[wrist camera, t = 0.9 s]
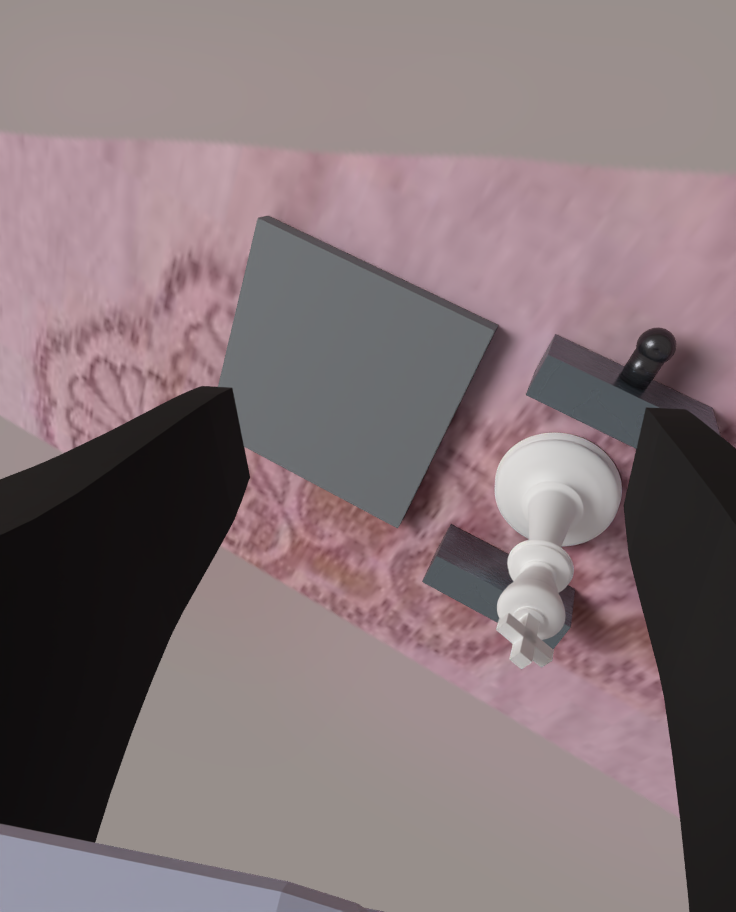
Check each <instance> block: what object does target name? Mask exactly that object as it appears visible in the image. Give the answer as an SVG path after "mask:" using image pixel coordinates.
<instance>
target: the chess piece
mask: <svg viewBox="0 0 736 912" xmlns="http://www.w3.org/2000/svg"><path fill="white" fill-rule="evenodd" d="M621 496H622V484H621V479H620V475H619V472H618V470H617V468H616V466H615V464H614V463H613V461H612V460H611V459H610V457H609V456H608V455H607V454H606V453H605V452H604V451H603V450H602V449H600V448H599V447H598V446H596V445H595V444H593V443H592V442H590V441H588V440H586V439H584V438H581V437H578V436H575V435H571V434H566V433H543V434H538V435H534V436H531V437H528V438H526V439H524V440H522V441H520V442H519V443H517V444H516V445H514V446H513V447H512V448H511V449H510V450H509V451H508V452H507V453H506V454H505V455H504V457H503V458H502V460H501V462H500V464H499V466H498V468H497V472H496V477H495V498H496V503H497V506H498V508H499V510H500V512H501V514H502V516H503V517H504V519H505V520H506V521H507V523H508V524H509V525H510V526H511V527H512V528H513V529H514V530H516V531H517V532H518V533H520V534H521V535H523V536H524V537H526V538H528V539H529V540H527V541H524V542H521V543H519V544H518V545H516V546H515V547H514V548H513V549H512V550H511V552H510V554H509V556H508V561H507V565H508V570H509V574H510V576H511V578H512V580H513V581H514V582H513V583H511V584H510V585H509V586H508V587H507V588H506V589H505V590H504V591H503V592H502V594H501V595H500V597H499V599H498V603H497V613H498V616H499V621H498V625H497V628H496V630H497V631H498V632H499V633H500V634H502V635H503V636H504V637H505V638H506V639H508V640H509V641H510V642H511V643H512V644H513V646H512V650H511V655H510V660H511V661H512V662H513V663H514V664H516V665H517V666H518V667H519V668H520V669H523V668H524V667H526V666H527V665H529V664H530V663H532V661H534V662H535V663H536V664H538V665H539V666H540V667H541V668H542V667H543V666H545V665H546V664H548V663H550V662H551V661H552V659H553V652H554V650H553V649H552V648H551V647H549V646H548V645H547V644H546V643H545V642H543V641H542V640H544V639H548V638H550V637H553V636H554V635H556V634H557V633H558V632H559V631H560V630H561V629H562V627H563V625H564V623H565V609H564V605H563V602H562V599H561V597H560V595H559V592H561V591H562V590H563V589H565V588H566V586H567V585H568V584H569V583H570V581H571V579H572V577H573V573H574V567H573V563H572V560H571V558H570V556H569V555H568V554H567V552H566V551H565V550H563V549H562V548H561V547H562V546H573V545H578V544H581V543H584V542H587V541H589V540H591V539H593V538H595V537H597V536H598V535H600V534H601V533H602V532H603V531H604V530H606V529H607V527H608V526H609V525H610V524H611V522H612V521H613V519H614V517H615V515H616V513H617V510H618V507H619V505H620V501H621Z"/></svg>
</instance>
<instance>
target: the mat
mask: <svg viewBox="0 0 736 912" xmlns="http://www.w3.org/2000/svg"><path fill="white" fill-rule="evenodd" d="M497 327H498V325H497V324H495V323H493V322H491V321H489V320H487V319H484V318H482V317H480V316H478V315H476V314H474V313H472V312H470V311H468V310H465V309H463V308H461V307H459V306H457V305H455V304H453V303H451V302H449V301H446V300H444V299H442V298H440V297H438V296H436V295H434V294H432V293H430V292H428V291H425V290H423V289H421V288H419V287H417V286H415V285H413V284H411V283H409V282H406V281H404V280H402V279H400V278H398V277H396V276H394V275H392V274H390V273H388V272H385V271H383V270H381V269H379V268H377V267H375V266H373V265H371V264H369V263H366V262H364V261H362V260H360V259H358V258H356V257H354V256H352V255H350V254H348V253H345V252H343V251H341V250H339V249H337V248H335V247H333V246H331V245H329V244H326V243H324V242H322V241H320V240H318V239H316V238H314V237H312V236H310V235H308V234H305V233H303V232H301V231H299V230H297V229H295V228H293V227H291V226H289V225H286V224H284V223H282V222H280V221H278V220H276V219H274V218H272V217H270V216H264V217H260V218H258V219H257V224H256V228H255V232H254V236H253V241H252V245H251V249H250V253H249V258H248V262H247V266H246V270H245V275H244V279H243V283H242V287H241V291H240V296H239V300H238V304H237V308H236V313H235V317H234V321H233V325H232V330H231V334H230V338H229V342H228V347H227V351H226V355H225V359H224V364H223V368H222V372H221V376H220V381H219V385H218V387H230V388H233V393H234V398H235V403H236V408H237V413H238V419H239V424H240V429H241V434H242V439H243V444H244V447H246V448H248V449H250V450H251V451H253V452H255V453H257V454H259V455H261V456H263V457H265V458H267V459H268V460H270V461H272V462H274V463H276V464H278V465H280V466H282V467H283V468H285V469H287V470H289V471H291V472H293V473H295V474H297V475H298V476H300V477H302V478H304V479H306V480H308V481H310V482H312V483H313V484H315V485H317V486H319V487H321V488H323V489H325V490H327V491H328V492H330V493H332V494H334V495H336V496H338V497H340V498H342V499H343V500H345V501H347V502H349V503H351V504H353V505H355V506H357V507H358V508H360V509H362V510H364V511H366V512H368V513H370V514H372V515H373V516H375V517H377V518H379V519H381V520H383V521H385V522H387V523H388V524H390V525H392V526H394V527H396V528H398V527H399V525H400V524H401V522H402V520H403V518H404V516H405V514H406V512H407V510H408V508H409V506H410V504H411V502H412V500H413V498H414V496H415V494H416V492H417V490H418V488H419V486H420V484H421V482H422V480H423V478H424V476H425V474H426V472H427V470H428V468H429V465H430V463H431V461H432V459H433V457H434V455H435V453H436V451H437V449H438V447H439V445H440V443H441V441H442V439H443V437H444V435H445V433H446V431H447V429H448V427H449V425H450V423H451V421H452V419H453V417H454V415H455V412H456V410H457V408H458V406H459V404H460V402H461V400H462V398H463V396H464V394H465V392H466V390H467V388H468V386H469V384H470V382H471V380H472V378H473V376H474V374H475V372H476V370H477V368H478V366H479V364H480V362H481V360H482V357H483V355H484V353H485V351H486V349H487V347H488V345H489V343H490V341H491V339H492V337H493V335H494V333H495V331H496V329H497Z"/></svg>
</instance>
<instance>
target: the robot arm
mask: <svg viewBox="0 0 736 912" xmlns="http://www.w3.org/2000/svg"><path fill="white" fill-rule="evenodd" d="M249 479H250V475H249V470H248V464H247V459H246V454H245V449H244V444H243V439H242V434H241V429H240V424H239V419H238V413H237V408H236V403H235V398H234V393H233V388H230V387H210V386H201V387H198V388H195V389H193V390H190V391H188V392H186V393H184V394H181V395H179V396H177V397H175V398H173V399H171V400H169V401H167V402H165V403H163V404H161V405H159V406H157V407H155V408H154V409H152V410H150V411H148V412H146V413H144V414H142V415H140V416H138V417H136V418H134V419H132V420H131V421H129V422H127V423H125V424H123V425H121V426H119V427H117V428H115V429H113V430H111V431H109V432H107V433H105V434H103V435H101V436H99V437H97V438H95V439H93V440H91V441H89V442H86V443H84V444H82V445H80V446H78V447H76V448H74V449H72V450H70V451H68V452H66V453H63V454H61V455H60V456H57V457H55V458H52V459H50V460H48V461H46V462H44V463H41V464H39V465H36V466H34V467H31V468H29V469H26V470H23V471H21V472H18V473H16V474H13V475H10V476H8V477H5V478H3V479H0V912H383V911H378V910H373V909H368V908H364V907H362V906H360V905H359V904H357V903H355V902H351V901H348V900H345V899H342V898H339V897H336V896H332V895H329V894H326V893H323V892H320V891H317V890H314V889H310V888H307V887H304V886H301V885H298V884H294V883H291V882H288V881H283V880H278V879H273V878H268V877H263V876H258V875H253V874H248V873H243V872H238V871H233V870H228V869H223V868H218V867H213V866H208V865H203V864H198V863H193V862H188V861H183V860H178V859H173V858H168V857H163V856H158V855H153V854H148V853H143V852H138V851H133V850H128V849H124V848H118V847H114V846H108V845H104V844H99V843H95V841H96V838H97V835H98V832H99V828H100V825H101V822H102V819H103V816H104V813H105V809H106V806H107V803H108V799H109V797H110V793H111V790H112V788H113V785H114V782H115V779H116V776H117V773H118V771H119V768H120V765H121V762H122V759H123V756H124V753H125V751H126V748H127V745H128V742H129V739H130V736H131V733H132V731H133V728H134V726H135V723H136V720H137V718H138V715H139V713H140V710H141V708H142V705H143V702H144V700H145V697H146V694H147V692H148V690H149V687H150V685H151V682H152V680H153V677H154V675H155V672H156V670H157V667H158V665H159V663H160V661H161V658H162V656H163V653H164V651H165V649H166V646H167V644H168V641H169V639H170V637H171V635H172V632H173V631H174V629H175V627H176V625H177V623H178V621H179V619H180V617H181V615H182V613H183V611H184V609H185V607H186V606H187V604H188V602H189V600H190V599H191V597H192V595H193V593H194V592H195V590H196V588H197V586H198V584H199V583H200V581H201V579H202V577H203V576H204V574H205V572H206V570H207V569H208V567H209V565H210V563H211V561H212V560H213V558H214V556H215V554H216V553H217V551H218V549H219V547H220V545H221V543H222V542H223V540H224V538H225V536H226V534H227V533H228V531H229V529H230V527H231V525H232V523H233V521H234V519H235V517H236V514H237V511H238V509H239V506H240V504H241V501H242V499H243V496H244V493H245V490H246V487H247V484H248V481H249ZM624 513H625V524H626V534H627V543H628V552H629V558H630V562H631V566H632V570H633V574H634V578H635V582H636V586H637V590H638V594H639V598H640V602H641V606H642V609H643V613H644V617H645V621H646V625H647V629H648V632H649V636H650V640H651V644H652V648H653V652H654V655H655V659H656V663H657V667H658V671H659V675H660V680H661V685H662V690H663V695H664V700H665V707H666V714H667V721H668V728H669V735H670V742H671V749H672V756H673V765H674V773H675V781H676V789H677V797H678V805H679V813H680V822H681V831H682V840H683V850H684V861H685V869H686V879H687V889H688V899H689V912H736V449H735V448H734V447H733V446H732V445H731V444H729V443H728V442H727V441H726V440H725V439H723V438H722V437H721V436H720V435H719V434H717V433H716V432H715V431H714V430H712V429H711V428H710V427H709V426H708V425H706V424H705V423H704V422H703V421H701V420H700V419H699V418H697V417H696V416H695V415H694V414H692V413H691V412H689V411H688V410H686V409H669V408H648V407H646V409H645V413H644V418H643V422H642V427H641V431H640V435H639V440H638V444H637V449H636V453H635V458H634V462H633V467H632V471H631V475H630V480H629V484H628V489H627V493H626V498H625V502H624Z"/></svg>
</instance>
